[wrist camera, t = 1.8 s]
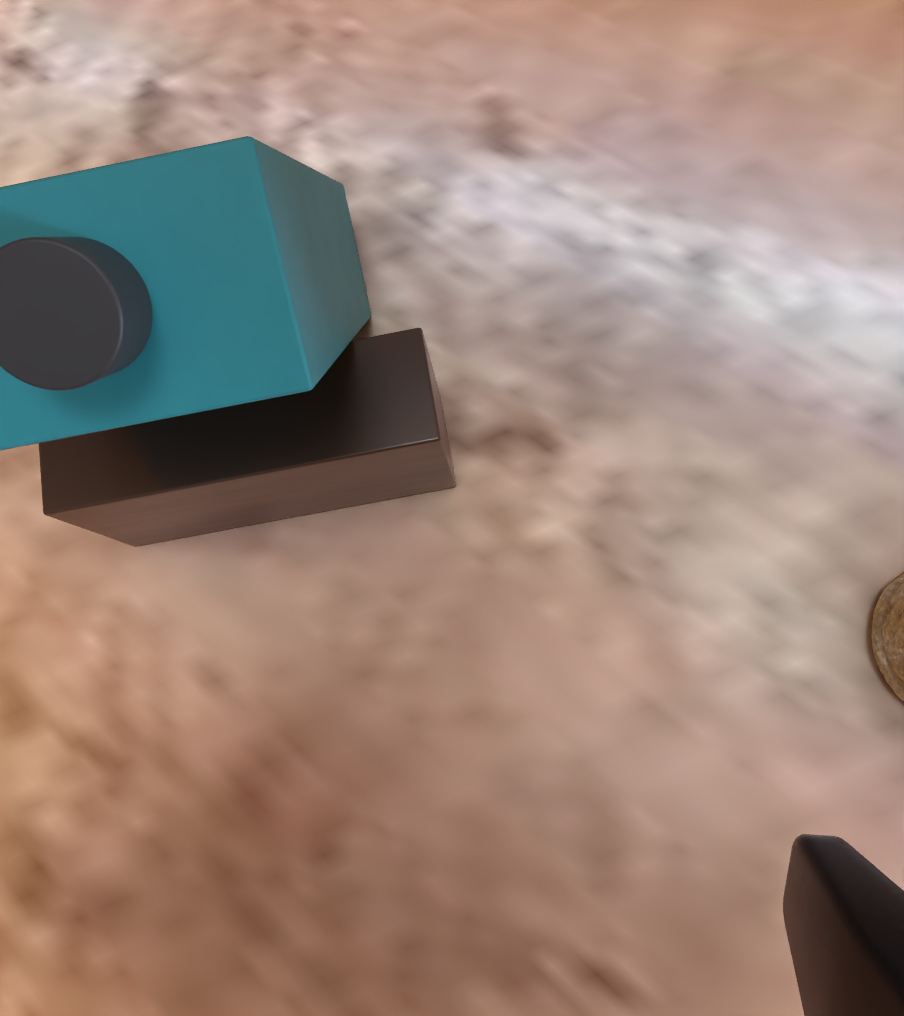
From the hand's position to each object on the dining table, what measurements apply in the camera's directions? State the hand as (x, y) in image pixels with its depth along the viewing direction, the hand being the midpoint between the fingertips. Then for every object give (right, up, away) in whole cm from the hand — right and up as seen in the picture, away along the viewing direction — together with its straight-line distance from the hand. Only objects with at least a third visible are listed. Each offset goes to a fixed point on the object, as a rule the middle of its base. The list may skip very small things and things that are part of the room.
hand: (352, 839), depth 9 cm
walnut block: (-4, +5, +17) cm, 18 cm away
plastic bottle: (-4, +7, +17) cm, 19 cm away
